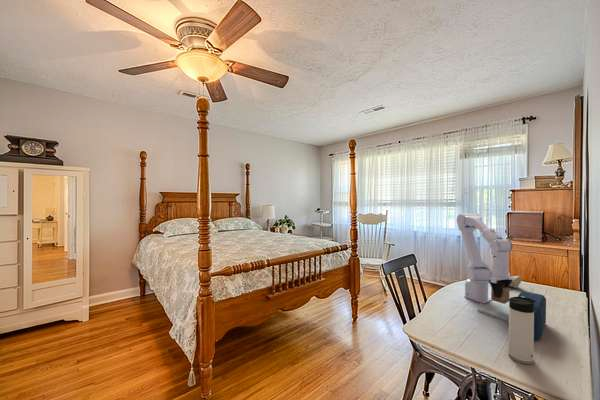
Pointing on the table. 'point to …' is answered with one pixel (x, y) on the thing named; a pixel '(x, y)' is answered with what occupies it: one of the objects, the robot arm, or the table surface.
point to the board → (496, 311)
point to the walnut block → (504, 295)
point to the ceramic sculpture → (515, 281)
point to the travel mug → (521, 329)
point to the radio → (537, 312)
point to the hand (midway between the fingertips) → (500, 295)
